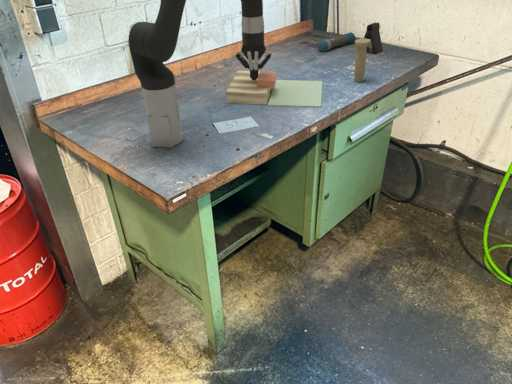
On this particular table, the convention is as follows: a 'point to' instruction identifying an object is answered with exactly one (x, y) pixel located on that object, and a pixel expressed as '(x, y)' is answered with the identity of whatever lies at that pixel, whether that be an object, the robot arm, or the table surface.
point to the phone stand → (374, 38)
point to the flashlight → (336, 42)
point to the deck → (247, 90)
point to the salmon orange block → (267, 79)
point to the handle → (360, 58)
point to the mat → (296, 93)
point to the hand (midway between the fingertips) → (254, 79)
